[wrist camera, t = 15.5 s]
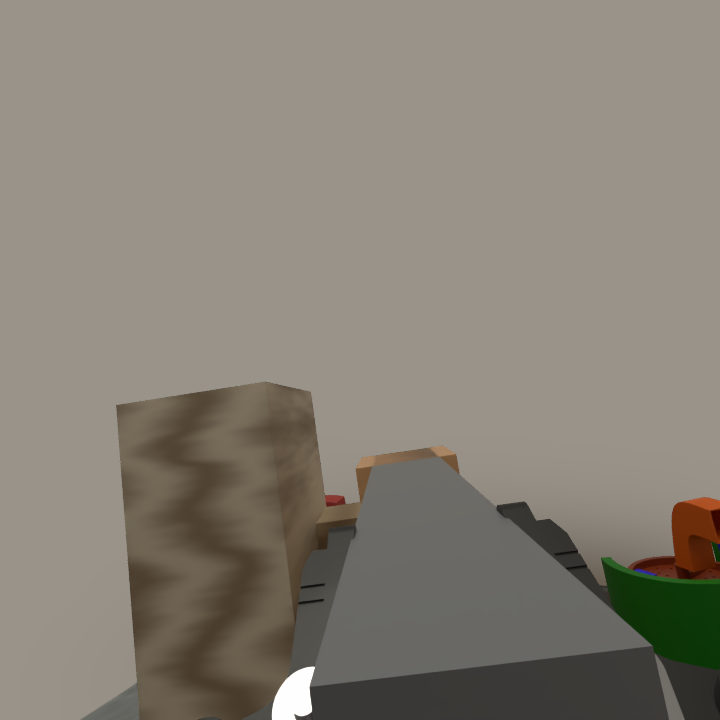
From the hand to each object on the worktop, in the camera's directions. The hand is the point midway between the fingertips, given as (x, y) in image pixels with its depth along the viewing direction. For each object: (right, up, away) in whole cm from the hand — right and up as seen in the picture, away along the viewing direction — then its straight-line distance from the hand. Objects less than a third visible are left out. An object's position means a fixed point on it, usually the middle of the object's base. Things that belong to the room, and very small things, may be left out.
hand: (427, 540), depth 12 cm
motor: (+24, -25, +16) cm, 38 cm away
